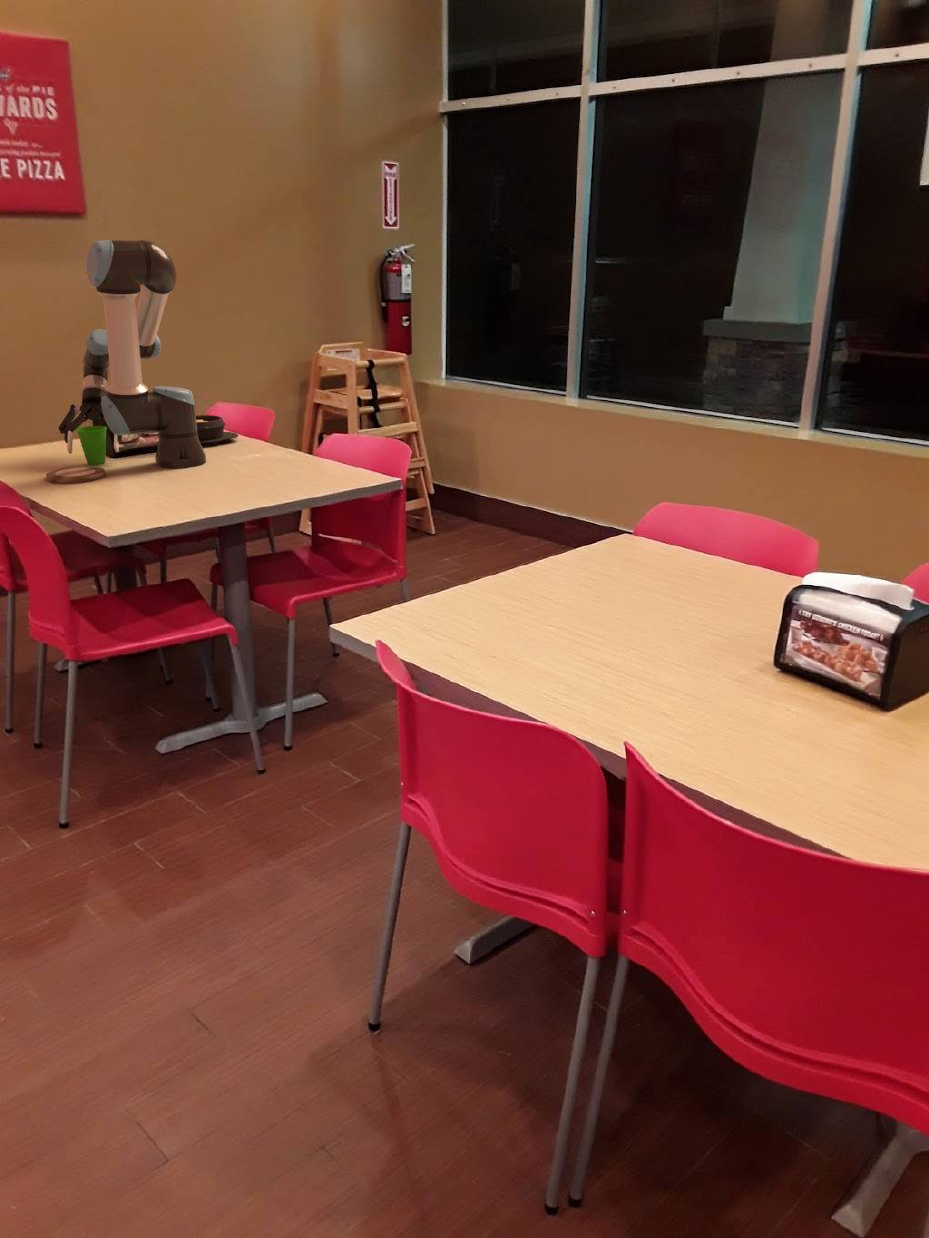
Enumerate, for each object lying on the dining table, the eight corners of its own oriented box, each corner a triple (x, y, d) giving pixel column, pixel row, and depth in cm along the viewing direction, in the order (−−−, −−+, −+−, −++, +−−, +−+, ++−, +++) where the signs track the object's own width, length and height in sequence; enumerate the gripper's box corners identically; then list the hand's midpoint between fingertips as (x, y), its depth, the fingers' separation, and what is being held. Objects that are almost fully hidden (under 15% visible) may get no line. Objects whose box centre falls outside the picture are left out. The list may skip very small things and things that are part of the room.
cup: (117, 461, 295) (112, 426, 291) (103, 467, 287) (98, 431, 283) (89, 460, 296) (84, 425, 292) (75, 466, 288) (70, 431, 284)
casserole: (172, 451, 310) (169, 426, 307) (158, 442, 325) (155, 417, 321) (246, 444, 321) (244, 419, 318) (229, 435, 336) (227, 411, 333)
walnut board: (117, 473, 279) (116, 468, 278) (79, 485, 265) (78, 480, 264) (73, 469, 284) (72, 464, 283) (34, 481, 270) (33, 475, 269)
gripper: (138, 399, 301) (137, 455, 293) (56, 402, 297) (53, 458, 289) (133, 385, 294) (132, 442, 286) (49, 387, 290) (46, 444, 282)
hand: (93, 450), depth 288 cm, fingers open, 13 cm apart
